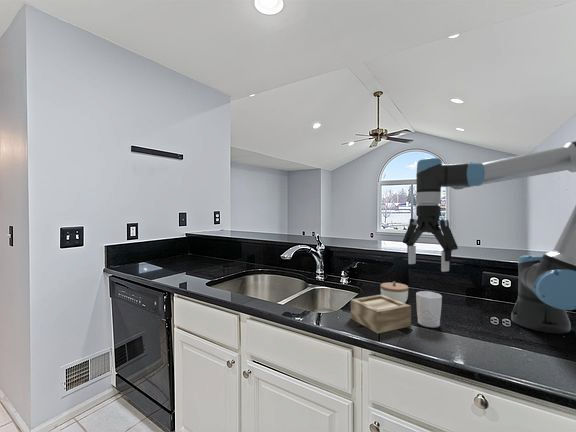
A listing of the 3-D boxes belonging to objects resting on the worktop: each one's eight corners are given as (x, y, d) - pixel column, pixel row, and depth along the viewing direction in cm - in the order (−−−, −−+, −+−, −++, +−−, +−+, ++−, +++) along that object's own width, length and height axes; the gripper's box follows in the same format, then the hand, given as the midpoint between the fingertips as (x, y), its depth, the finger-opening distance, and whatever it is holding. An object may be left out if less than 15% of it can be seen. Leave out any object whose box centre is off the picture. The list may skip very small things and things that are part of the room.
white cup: (411, 319, 104) (411, 291, 104) (433, 319, 105) (433, 290, 105) (423, 328, 96) (423, 298, 96) (446, 328, 97) (447, 297, 97)
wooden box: (410, 326, 99) (411, 305, 99) (377, 333, 93) (377, 311, 93) (381, 312, 111) (381, 294, 111) (350, 318, 106) (350, 299, 106)
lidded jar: (407, 302, 124) (407, 279, 124) (409, 310, 114) (409, 286, 113) (380, 299, 127) (380, 277, 127) (379, 307, 117) (379, 283, 117)
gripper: (471, 204, 91) (470, 273, 91) (408, 205, 114) (407, 260, 114) (454, 204, 88) (453, 275, 88) (393, 205, 111) (392, 261, 111)
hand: (427, 267), depth 101 cm, fingers open, 13 cm apart
